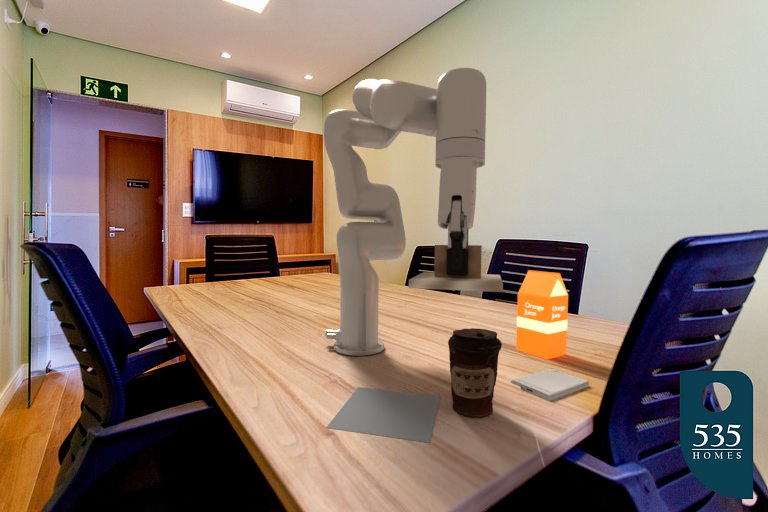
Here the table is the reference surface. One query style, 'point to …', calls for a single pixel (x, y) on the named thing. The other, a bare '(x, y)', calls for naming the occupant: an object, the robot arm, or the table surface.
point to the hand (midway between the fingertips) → (458, 273)
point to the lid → (451, 282)
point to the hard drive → (550, 384)
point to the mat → (388, 414)
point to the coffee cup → (473, 371)
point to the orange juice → (542, 315)
